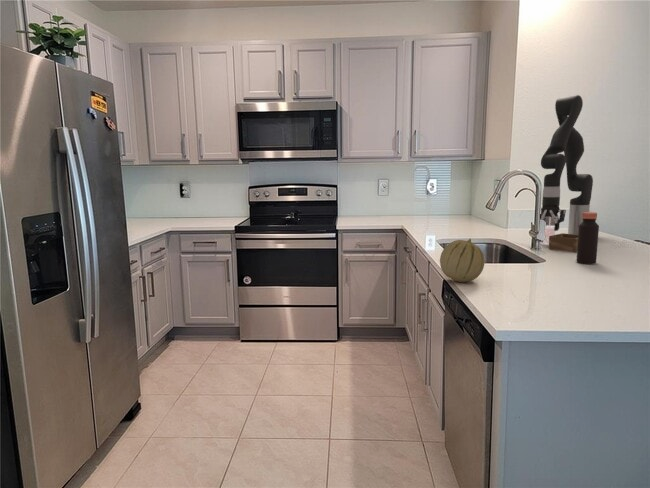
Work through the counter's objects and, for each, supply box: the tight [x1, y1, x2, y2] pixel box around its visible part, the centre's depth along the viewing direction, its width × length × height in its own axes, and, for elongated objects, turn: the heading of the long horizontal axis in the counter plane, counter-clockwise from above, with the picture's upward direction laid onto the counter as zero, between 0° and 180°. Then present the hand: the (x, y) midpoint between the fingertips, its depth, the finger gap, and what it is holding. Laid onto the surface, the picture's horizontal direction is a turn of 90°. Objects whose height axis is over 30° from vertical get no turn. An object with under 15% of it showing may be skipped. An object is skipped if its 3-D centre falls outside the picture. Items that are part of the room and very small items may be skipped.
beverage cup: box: [542, 217, 556, 246], centre depth 213 cm, size 6×6×14 cm
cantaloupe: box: [439, 238, 485, 283], centre depth 149 cm, size 15×15×15 cm
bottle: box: [575, 211, 600, 265], centre depth 171 cm, size 7×7×20 cm
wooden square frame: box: [548, 232, 578, 253], centre depth 201 cm, size 12×12×6 cm
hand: (549, 229), depth 213 cm, fingers closed on beverage cup, 6 cm apart
